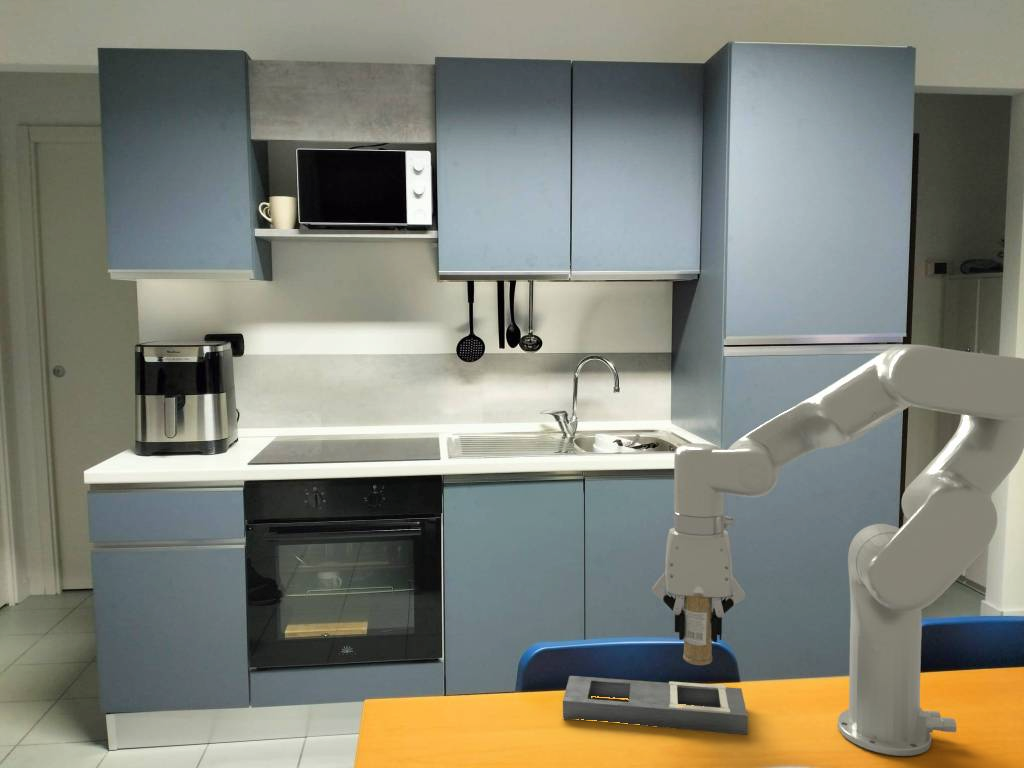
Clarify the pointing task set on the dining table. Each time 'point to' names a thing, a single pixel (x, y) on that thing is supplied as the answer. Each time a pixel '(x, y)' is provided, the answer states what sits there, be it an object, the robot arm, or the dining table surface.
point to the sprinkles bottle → (698, 628)
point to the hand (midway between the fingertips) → (697, 636)
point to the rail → (657, 704)
